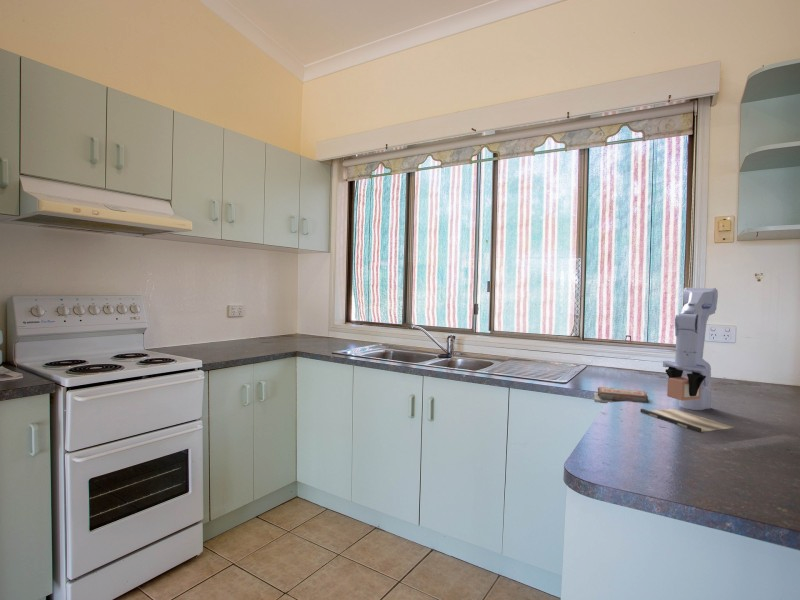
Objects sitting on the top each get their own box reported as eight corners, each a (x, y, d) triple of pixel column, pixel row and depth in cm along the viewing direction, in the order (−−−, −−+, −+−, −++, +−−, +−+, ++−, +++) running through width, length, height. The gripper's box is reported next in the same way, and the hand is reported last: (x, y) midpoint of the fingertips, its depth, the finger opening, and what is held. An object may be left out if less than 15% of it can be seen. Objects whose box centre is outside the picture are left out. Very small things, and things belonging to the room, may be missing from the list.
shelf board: (673, 412, 149) (674, 405, 149) (734, 432, 131) (735, 424, 130) (639, 416, 145) (639, 408, 144) (697, 437, 126) (698, 428, 126)
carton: (667, 396, 141) (668, 377, 141) (685, 394, 143) (686, 376, 143) (682, 400, 136) (683, 381, 136) (700, 398, 138) (701, 380, 138)
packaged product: (646, 389, 164) (649, 395, 155) (645, 402, 164) (649, 409, 155) (594, 384, 171) (594, 389, 162) (593, 396, 171) (593, 402, 162)
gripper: (656, 348, 145) (654, 388, 145) (699, 355, 131) (696, 400, 131) (672, 347, 147) (670, 387, 147) (715, 354, 133) (713, 398, 134)
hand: (684, 393), depth 140 cm, fingers closed on carton, 5 cm apart
